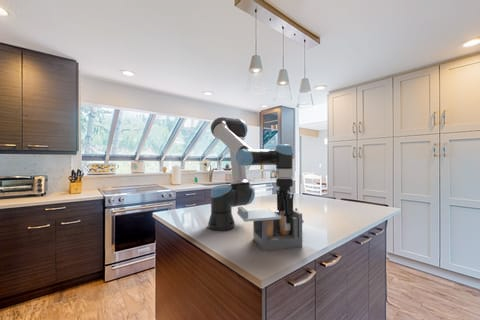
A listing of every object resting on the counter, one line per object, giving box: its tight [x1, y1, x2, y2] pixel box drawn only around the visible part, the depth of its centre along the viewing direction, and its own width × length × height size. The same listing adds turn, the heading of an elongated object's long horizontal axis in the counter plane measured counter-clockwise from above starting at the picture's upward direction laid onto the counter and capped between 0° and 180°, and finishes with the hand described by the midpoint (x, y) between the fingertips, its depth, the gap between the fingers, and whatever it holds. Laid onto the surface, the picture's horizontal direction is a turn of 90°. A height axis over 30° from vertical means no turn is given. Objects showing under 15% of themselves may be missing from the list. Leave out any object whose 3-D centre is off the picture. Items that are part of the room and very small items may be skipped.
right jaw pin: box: [280, 211, 290, 236], centre depth 101 cm, size 4×4×12 cm
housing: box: [252, 208, 303, 252], centre depth 100 cm, size 14×18×14 cm
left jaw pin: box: [266, 220, 273, 237], centre depth 99 cm, size 4×4×12 cm
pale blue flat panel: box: [236, 206, 281, 223], centre depth 98 cm, size 14×16×4 cm
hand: (284, 228), depth 101 cm, fingers closed on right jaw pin, 4 cm apart
